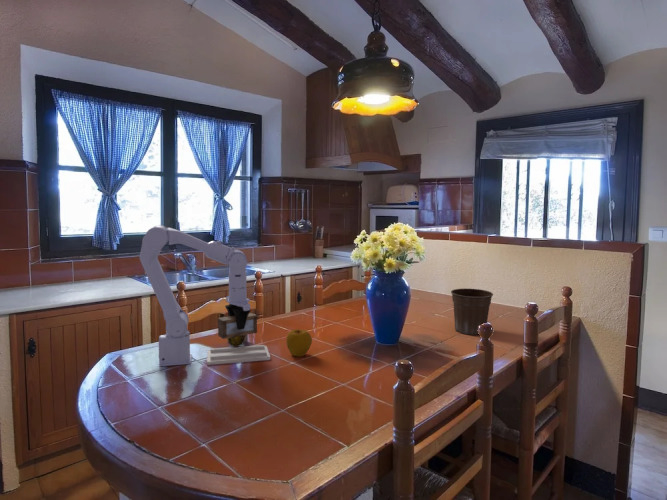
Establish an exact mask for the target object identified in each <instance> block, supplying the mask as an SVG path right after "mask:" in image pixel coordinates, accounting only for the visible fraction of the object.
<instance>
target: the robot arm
mask: <svg viewBox="0 0 667 500" xmlns="http://www.w3.org/2000/svg"><path fill="white" fill-rule="evenodd" d="M141 242H142V243H141V247H140V248H141V249H140V254H139V261H140V263H141V265H142V268H143V269H144V272H145V274H146V277H147V278H148V281H149V283H150V285H151V287H152V290H153V291H154V294H155V296H156V298H157V301H158V303H159V305H160V307H161V310H162V313H163V319H164V321H165V330H166V331H165V332H166V333H165V334H163V335H162V334H161V335H159V336H158V337H159V338H158V359H159V360H158V366H159V367H168V366H170V367H171V366H180V365H191V364H192V358H193V354H191V344H190V342H191V339H190V335H191V334H190V333H191V332H190V331H189V330H188V324H189V321H190V320H189V316H188V314H187V313H186V312H185V311H184V310H182V308H181V307H182V306H180V304H179V303H178V300H177V299H176V297H175V295H174V293H173V289H172V288H171V286H170V284H169V281H168V279H167V277H166V274H165V272H164V270H163V268H162V265H161V263H160V261H159V255H160V253H161V252H162V249H163V247H164V246H166V245H167V243H168V242H169V243H168V245H169V246H171V245H178V244H181V245H183V246H187V247H190V248H192V249H194V250H197V251H201V252H203V253H204V255H205V257H206V258H208V259H210V260H212V261H215V262H218V263H221V264H223V265H228V266H229V268H228V270H229V272H228V295H227V296H226V297H225V298H226V299H225V300H226V301H225V302H226V303H228V304H226V305H225V306H224V307H225V310H227V313H228V315H229V316H235V317H236V323H237V328H238V330H240V329H244V328H245V324H246V320H247V317H248V314H249V313H251V310H252V309H251V303H249V302H250V301H251V300H250V298H247V297H248V296H247V295H248V294H247V267H246V266H247V265H248V259H247V256H246V254H245V253H244V252H243V251H242V250H240V249H238V248H237V249H236V247H234V246H231V247H230V246H228V245H225V244H222V241H221V240H217V241H215V240H211V241H209V242H207V241H205V240H202V239H199V238H197V237H195V236H193V235H191V234H189V233H187V232H184V231H181V230H179V229H175V228H173V227H167V226H165V225H161V224H158V225H154V226H153V227H151V228H149V229H148V230H147V231H146V233H145V235H144V236H143V238H142V241H141ZM229 316H228V317H229Z"/></svg>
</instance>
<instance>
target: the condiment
mask: <svg viewBox="0 0 667 500" xmlns="http://www.w3.org/2000/svg"><path fill="white" fill-rule="evenodd" d="M248 335H249V334H248ZM248 335H242V336H237V337H232V338H226V339H227V343H228V344H229V345H230V346H231V347H241V346H242V345H243V344H244V342H248V338H249V337H248Z"/></svg>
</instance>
